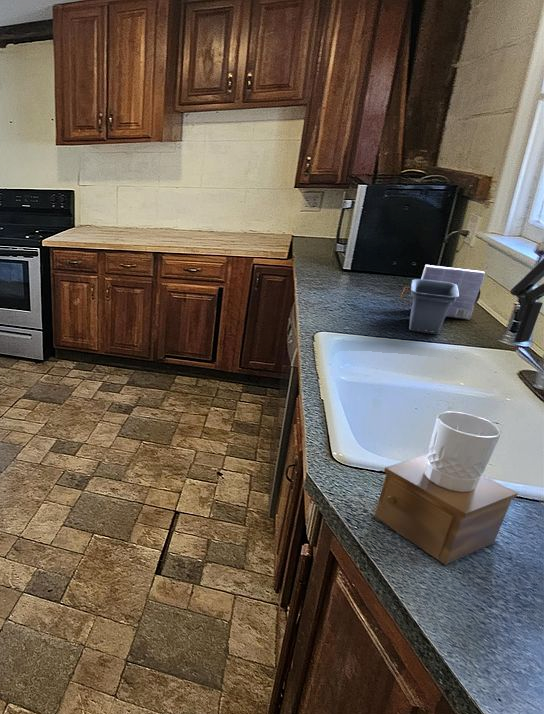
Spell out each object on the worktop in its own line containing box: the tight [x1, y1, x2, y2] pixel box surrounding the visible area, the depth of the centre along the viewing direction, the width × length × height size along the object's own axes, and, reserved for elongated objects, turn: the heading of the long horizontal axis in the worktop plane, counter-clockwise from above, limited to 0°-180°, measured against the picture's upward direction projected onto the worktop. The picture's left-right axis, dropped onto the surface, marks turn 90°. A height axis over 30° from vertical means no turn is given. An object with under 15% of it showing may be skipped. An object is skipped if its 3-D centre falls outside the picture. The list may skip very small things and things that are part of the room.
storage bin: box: [400, 278, 459, 335], centre depth 182 cm, size 21×16×14 cm
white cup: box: [425, 411, 502, 492], centre depth 81 cm, size 8×8×10 cm
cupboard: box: [373, 453, 519, 566], centre depth 85 cm, size 13×14×10 cm
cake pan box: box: [420, 264, 486, 321], centre depth 194 cm, size 19×5×18 cm, turn 60°
